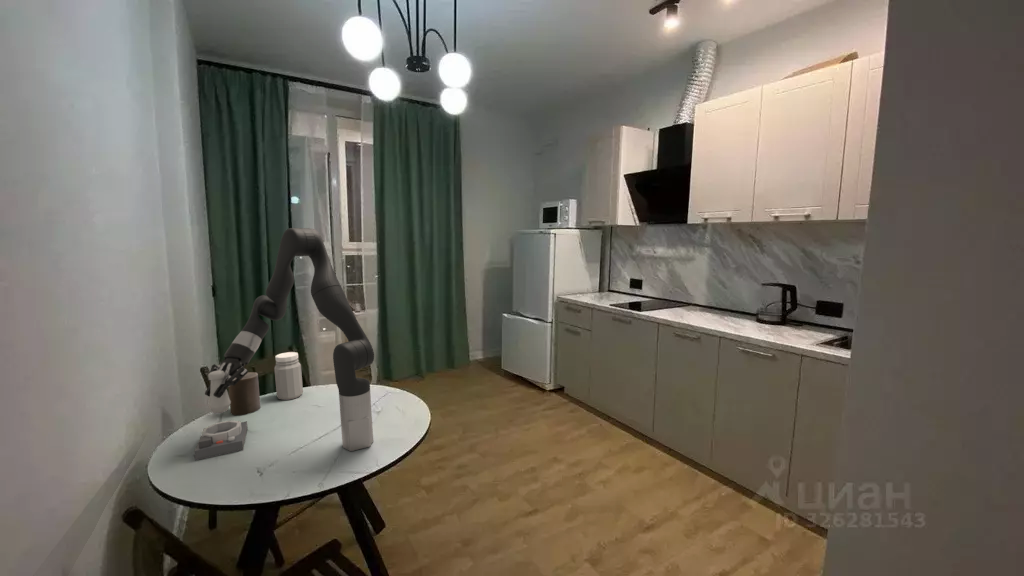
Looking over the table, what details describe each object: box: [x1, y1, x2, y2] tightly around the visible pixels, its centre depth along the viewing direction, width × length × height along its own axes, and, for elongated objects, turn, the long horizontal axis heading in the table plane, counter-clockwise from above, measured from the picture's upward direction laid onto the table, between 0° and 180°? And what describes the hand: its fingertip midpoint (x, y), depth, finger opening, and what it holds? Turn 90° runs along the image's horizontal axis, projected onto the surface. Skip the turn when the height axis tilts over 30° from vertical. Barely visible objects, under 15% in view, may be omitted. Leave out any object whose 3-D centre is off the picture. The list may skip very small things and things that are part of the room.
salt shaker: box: [207, 370, 231, 415], centre depth 129 cm, size 6×6×13 cm
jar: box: [273, 351, 304, 401], centre depth 169 cm, size 10×10×18 cm
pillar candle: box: [228, 371, 261, 416], centre depth 156 cm, size 10×10×15 cm
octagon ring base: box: [193, 419, 249, 461], centre depth 131 cm, size 16×12×6 cm
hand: (212, 395), depth 127 cm, fingers closed on salt shaker, 3 cm apart
